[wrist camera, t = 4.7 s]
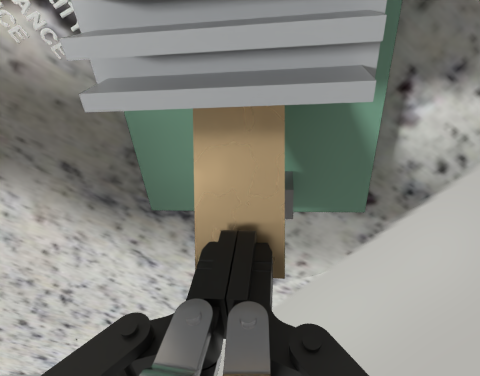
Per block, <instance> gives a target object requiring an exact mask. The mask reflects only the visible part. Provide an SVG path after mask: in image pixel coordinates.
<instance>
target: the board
mask: <svg viewBox="0 0 480 376" xmlns="http://www.w3.org/2000/svg"><path fill="white" fill-rule="evenodd" d="M71 3H72V6H73V9H74V12H75V15H76V18H77V22H78V25H79V28H80V31H81V34H77V35H72V36H68V37H64V38H60V39H59V40H60V43H61V45H62V48H63V51H64V54H65V57H66V60H67V61H69V60H85V59H89V60H90V63H91V66H92V69H93V72H94V75H95V79H96V82H97V85H95V86H93V87H91V88H89V89H87V90H85V91H83V92H82V93H80V94H79V96H80V99H81V102H82V105H83V108H84V111H85V112H109V111H124V114H125V117H126V121H127V124H128V128H129V132H130V135H131V139H132V142H133V146H134V149H135V153H136V156H137V160H138V163H139V167H140V170H141V174H142V177H143V181H144V184H145V188H146V191H147V195H148V199H149V202H150V206H151V209H152V210H173V211H194V151H193V108H218V107H246V106H273V105H285V219H293V212H365V208H366V202H367V196H368V191H369V185H370V180H371V174H372V168H373V163H374V157H375V151H376V146H377V140H378V134H379V129H380V123H381V118H382V112H383V106H384V101H385V95H386V89H387V84H388V78H389V72H390V67H391V61H392V56H393V50H394V44H395V39H396V33H397V27H398V22H399V16H400V10H401V5H402V0H71Z"/></svg>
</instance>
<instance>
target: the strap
mask: <svg viewBox="0 0 480 376" xmlns="http://www.w3.org/2000/svg"><path fill="white" fill-rule="evenodd" d="M193 151H194V211H195V270H196V269H197V268H196V267H197V264H198V261H199V258H200V255H201V251H202V249H203V248H204V247H205V246H206V245H207V244H208V242H218V240H219V236H220V233H221V230H238V231H239V230H256V233H257V243H268V244H269V246H270V248H271V250H272V258H273V278H283V279H285V105H273V106H246V107H218V108H193Z"/></svg>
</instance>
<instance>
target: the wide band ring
mask: <svg viewBox="0 0 480 376" xmlns="http://www.w3.org/2000/svg"><path fill="white" fill-rule="evenodd" d="M49 1H50V2H51V4H53V3H54V2H53V0H49ZM12 2H13V3H14V4H19V5H20V7H21V8H22V10H21V13H22V14H23V15H24V16H26V14H27V12H28V10H29V8H30V6H31V3H30V1H29V0H12ZM67 2H68V4H69V5H70V8H68V9H67V10H65V11H64V12H62V13H60V15H61V17H62V18H64V17H66V16H67V15H69V14H70V13H72V12H74V9H73V6H72V3H71V2H69V0H60V1H58V2H56V3H55V4H53V6H54V7H55V9H57V8H59V7H61V6H62V5H64V4H66V3H67ZM22 4H25V5H24V6H23V5H22ZM3 6H4V5H3V4H2V3H1V2H0V8H1V7H3ZM3 15H9V16H10V18H11V20H10V21H11V22H12V23H14V24H16V20H15V18H14V17H13V16H12V15H11V14H10V13H9V12H8V11H6V10H0V23H1V24H2V25H3V26H5V27H8V28H10V26H9V24H7V23H4V22H3V21H2V19H1V18H2V16H3ZM25 18H26V19H27V20H28V21H31V20H33V19H34V23H33V27H34V29H35V30H36V31H37V30H39V29H41V28H42V27H44V26H46V25H47V23H46V22H45V21H44V20H43V21H42V22H40V23H39V19H40V14H39V13H38V12H37V11H35V12H33V13H31V14H30V15H28V16H26V17H25ZM77 29H80V28H79V25H78V22H77V23H76V25H74V26H73V27H71V30H72V31H73V32H74V31H76V30H77ZM20 30H21V31H22V32H23V33H24V34H25V36H26V37H28V38H29V37H30V36H29V35H28V34H27V33H26V32H25V30H24V29H23V28H22V27H21V26H20V25H19V24H18V25H17V26H15V27H13V28H12V29H10V30H8V32H9V34H10V35H11V36H12V37H13V38H14V40H15V41H16V42H17V43H19V44H20V43H21V42H20V41H19V40H18V39H17V38H16V36H15V35H14V34H15V33H17V34H18V35H19V36H20V38H21V39H23V40H24V39H25V38H24V37H23V36H22V35H21V33H20V32H19V31H20ZM49 32H50V33H52V34H53V36H54V39H55V40H56V41H58V38H57V35H56V34H55V33H54V32H53V31H52V30H51V29H49V28H44V29H42V30H41V33H40V34H41V37H42V39H43V40H44V41H45V42H46V43H47V44H50V45H52V42H51V41H50V40H46V39H45V34H46V33H49ZM61 47H62V45H61V43H60V42H59V43H58V44H56V45H55V46H53V47H51V50H52V51H53V52H54V53H55V55H56V56H57V57H58V58H59V59H60V60H61V59H62V58H61V57H60V56H59V55H58V53H57V52H56V50H59V51H60V52H61V53H62V55H63V56H65V54H64V52H63V51H62V50H61Z"/></svg>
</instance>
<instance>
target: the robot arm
mask: <svg viewBox="0 0 480 376" xmlns="http://www.w3.org/2000/svg"><path fill="white" fill-rule="evenodd" d="M196 268H197V269H196V271H195V274H194V277H193V280H192V283H191V287H190V290H189V293H188V296H187V299H186V301H185V302H183V303H182V304H181V305H180V306H179V307H178V308H177V309H176V311H175V313H173V314H171V315H169V316H166V317H162V318H158V319H154V320H149V318H148V317H147V316H146V315H144V314H142V313H130V314H127V315H125V316H123V317H121V318H120V319H119V320H117V321H116V322H114V323H113V324H112V325H110V326H109V327H107V328H106V329H105V330H103V331H102V332H101V333H99V334H98V335H96V336H95V337H94V338H92V339H91V340H89V341H88V342H87V343H85V344H84V345H83V346H81V347H80V348H78V349H77V350H76V351H74V352H73V353H71V354H70V355H69V356H67V357H66V358H65V359H63V360H62V361H60V362H59V363H58V364H56V365H55V366H53V367H52V368H51V369H49V370H48V371H47V372H45V373H44V374H42V375H41V376H217V374H218V370H219V366H220V362H221V350H222V344H223V339H226V347H225V359H224V370H223V376H369V375H368V374H367V373H366V372H365V371H364V370H363V369H362V368H361V367H360V366H359V365H358V364H357V362H356V361H355V360H354V359H353V358H352V357H351V356H350V355H349V354H348V353H347V352H346V351H345V350H344V349H343V348H342V347H341V346H340V345H339V344H338V343H337V341H336V340H335V339H334V338H333V337H332V336H331V335H330V334H329V333H328V332H327V331H326V330H325V329H323V328H322V327H320V326H318V325H315V324H303V325H300V326H298V327H293V326H291V325H288V324H286V323H283V322H282V321H280V320H279V319H278V318H276V317H275V315H274V314H273V312H272V291H273V258H272V250H271V248H270V246H269V244H268V243H257V233H256V230H239V231H238V230H221V233H220V236H219V240H218V242H208V244H207V245H206V246H205V247H204V248H203V249H202V251H201V255H200V258H199V261H198V264H197V267H196Z"/></svg>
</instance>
